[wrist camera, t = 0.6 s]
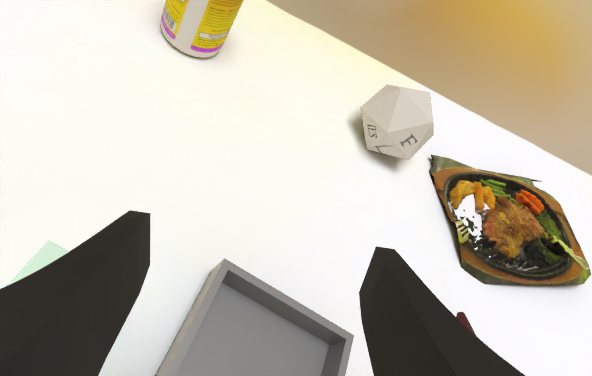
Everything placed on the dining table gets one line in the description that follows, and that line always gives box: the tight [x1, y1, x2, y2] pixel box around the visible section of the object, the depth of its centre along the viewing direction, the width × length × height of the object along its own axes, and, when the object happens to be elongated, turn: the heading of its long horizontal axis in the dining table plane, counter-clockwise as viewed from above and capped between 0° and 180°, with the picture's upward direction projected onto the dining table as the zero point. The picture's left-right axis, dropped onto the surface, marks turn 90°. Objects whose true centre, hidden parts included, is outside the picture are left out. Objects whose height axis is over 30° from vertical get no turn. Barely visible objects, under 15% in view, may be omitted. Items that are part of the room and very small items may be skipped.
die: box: [361, 85, 433, 160], centre depth 47 cm, size 8×9×10 cm
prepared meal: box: [430, 155, 591, 285], centre depth 56 cm, size 28×4×18 cm
